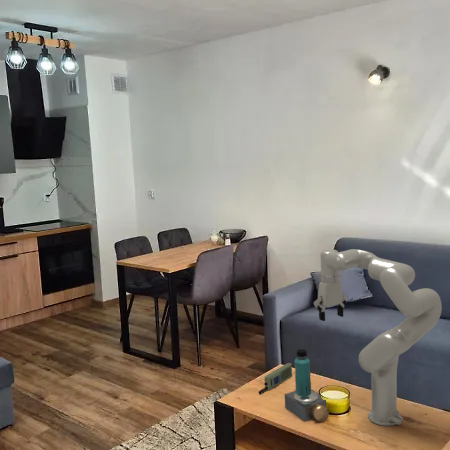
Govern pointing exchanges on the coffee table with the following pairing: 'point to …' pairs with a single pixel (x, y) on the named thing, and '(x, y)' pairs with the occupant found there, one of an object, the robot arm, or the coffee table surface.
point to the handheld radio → (277, 377)
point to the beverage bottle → (302, 374)
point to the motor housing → (307, 406)
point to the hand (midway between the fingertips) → (331, 318)
